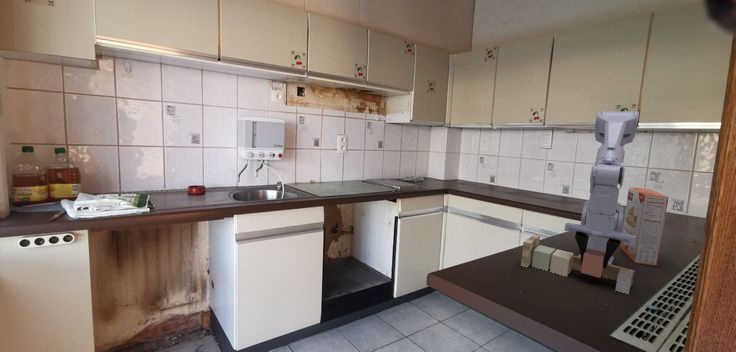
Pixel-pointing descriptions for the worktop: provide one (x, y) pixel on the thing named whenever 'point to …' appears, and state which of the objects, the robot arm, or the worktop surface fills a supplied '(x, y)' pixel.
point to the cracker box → (644, 225)
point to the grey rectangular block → (624, 281)
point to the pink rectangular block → (593, 262)
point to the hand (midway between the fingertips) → (593, 264)
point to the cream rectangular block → (561, 262)
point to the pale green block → (542, 257)
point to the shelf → (609, 272)
